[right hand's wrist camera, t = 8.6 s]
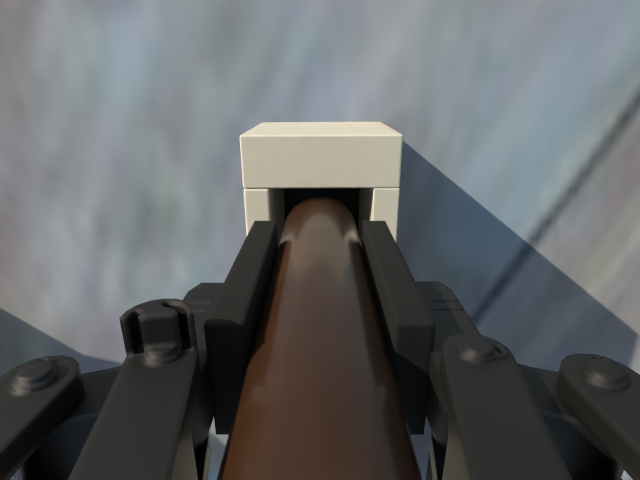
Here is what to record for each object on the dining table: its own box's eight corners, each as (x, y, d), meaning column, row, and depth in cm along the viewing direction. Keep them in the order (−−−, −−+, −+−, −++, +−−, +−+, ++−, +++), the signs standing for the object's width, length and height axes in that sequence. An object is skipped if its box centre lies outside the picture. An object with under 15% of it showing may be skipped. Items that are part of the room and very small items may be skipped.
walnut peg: (357, 195, 17) (498, 608, 3) (354, 263, 18) (456, 781, 4) (282, 195, 17) (138, 608, 3) (285, 263, 18) (181, 781, 4)
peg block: (381, 121, 21) (403, 134, 15) (365, 474, 29) (375, 567, 23) (261, 122, 21) (238, 135, 15) (280, 474, 29) (270, 567, 23)
